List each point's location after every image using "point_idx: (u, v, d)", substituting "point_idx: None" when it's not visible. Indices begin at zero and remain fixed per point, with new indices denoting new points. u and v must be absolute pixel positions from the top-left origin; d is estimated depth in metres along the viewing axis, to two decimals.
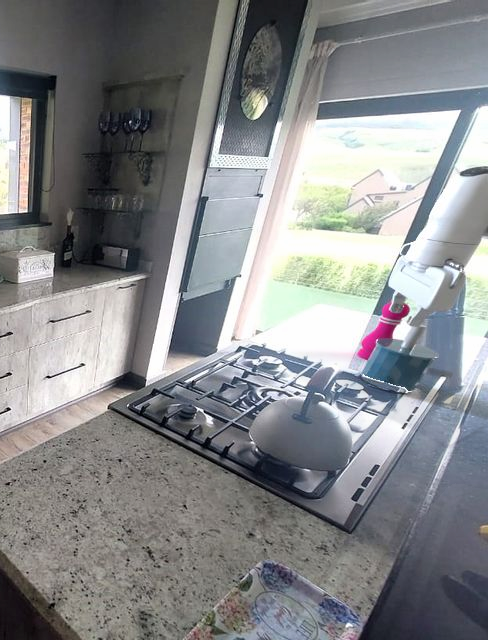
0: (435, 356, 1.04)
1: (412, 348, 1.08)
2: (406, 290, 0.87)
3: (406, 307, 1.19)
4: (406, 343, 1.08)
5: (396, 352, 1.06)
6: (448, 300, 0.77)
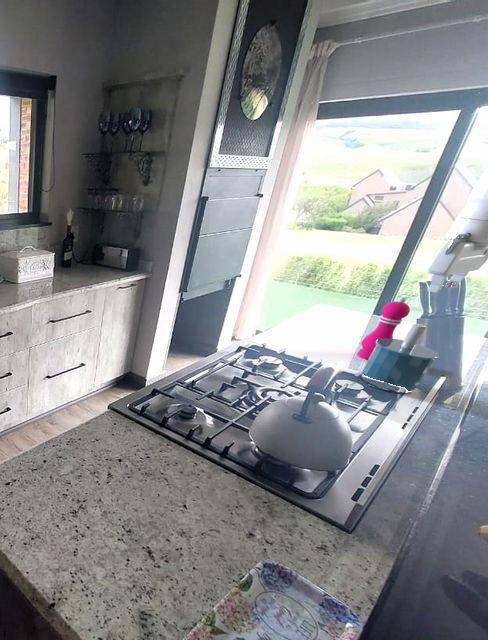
0: (435, 356, 1.04)
1: (412, 348, 1.08)
2: None
3: (406, 307, 1.19)
4: (406, 343, 1.08)
5: (396, 352, 1.06)
6: (443, 264, 0.93)
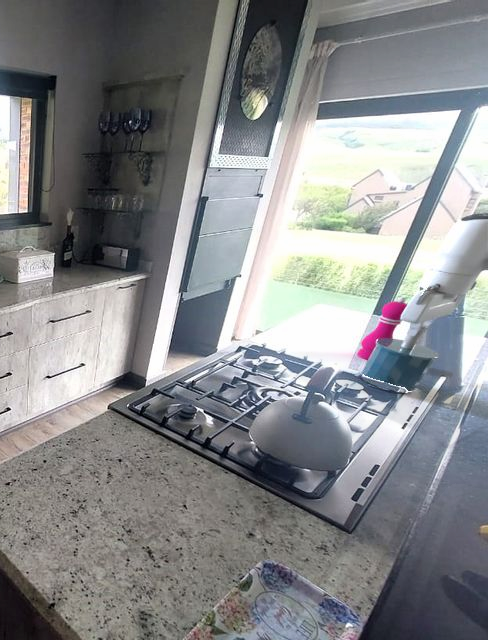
0: (435, 356, 1.04)
1: (412, 348, 1.08)
2: None
3: None
4: (406, 343, 1.08)
5: (396, 352, 1.06)
6: (414, 313, 0.99)
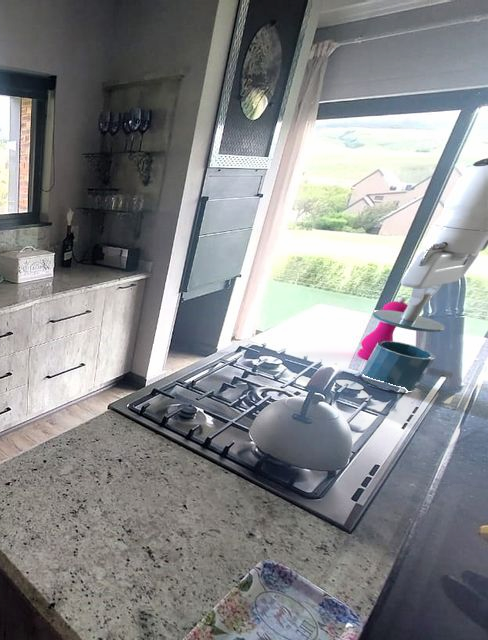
0: (441, 328, 0.91)
1: (414, 320, 0.94)
2: None
3: (406, 307, 1.19)
4: (407, 314, 0.94)
5: (396, 324, 0.93)
6: (417, 276, 0.85)
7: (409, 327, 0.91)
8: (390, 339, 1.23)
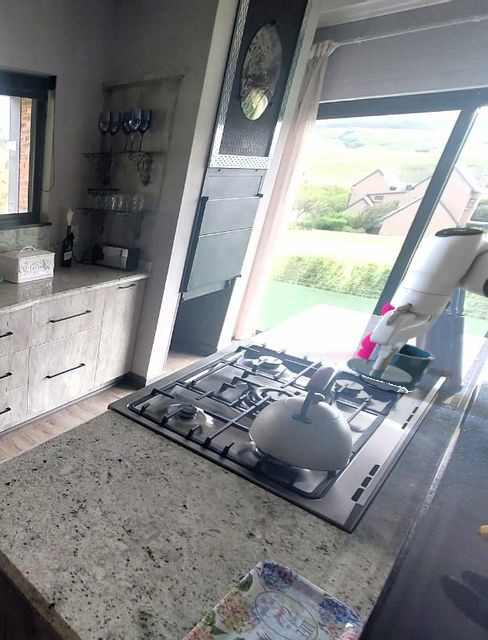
0: (408, 380, 0.97)
1: (384, 370, 1.01)
2: None
3: None
4: (378, 365, 1.01)
5: (366, 375, 0.99)
6: (384, 335, 0.92)
7: (378, 379, 0.98)
8: None
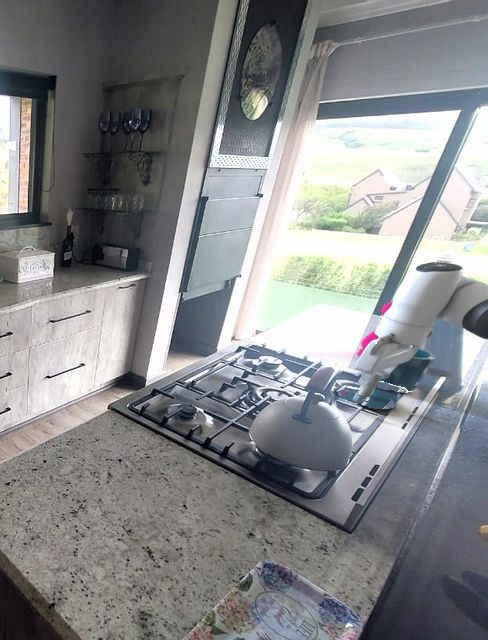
0: None
1: (369, 396, 1.04)
2: None
3: None
4: (363, 391, 1.04)
5: (352, 401, 1.03)
6: (368, 364, 0.96)
7: None
8: None
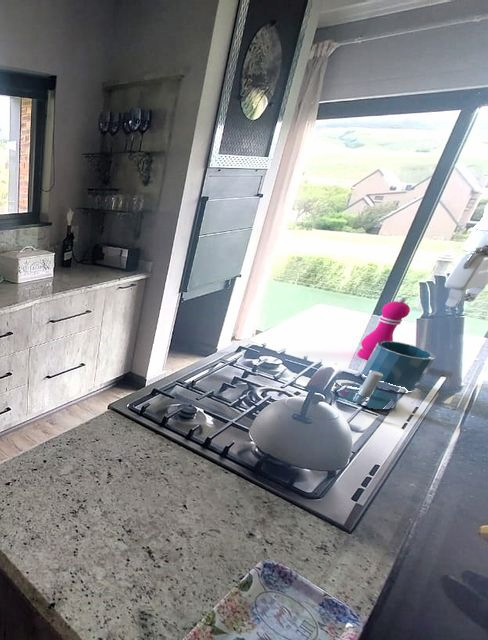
0: None
1: (369, 396, 1.04)
2: None
3: (406, 307, 1.19)
4: (363, 391, 1.04)
5: (352, 401, 1.03)
6: (461, 279, 0.90)
7: None
8: (390, 339, 1.23)
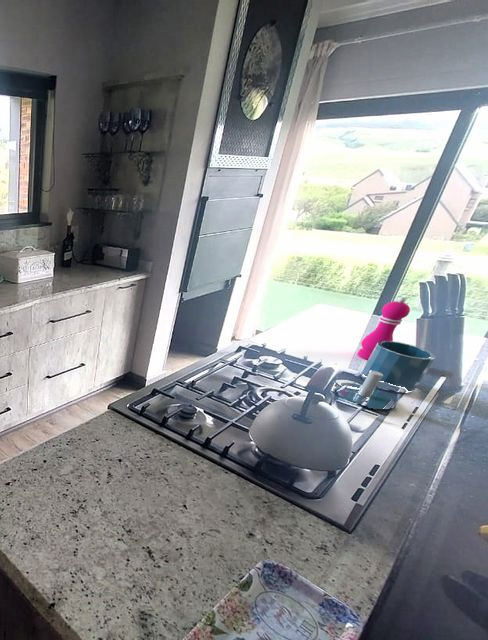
0: None
1: (369, 396, 1.04)
2: None
3: (406, 307, 1.19)
4: (363, 391, 1.04)
5: (352, 401, 1.03)
6: None
7: None
8: (390, 339, 1.23)
